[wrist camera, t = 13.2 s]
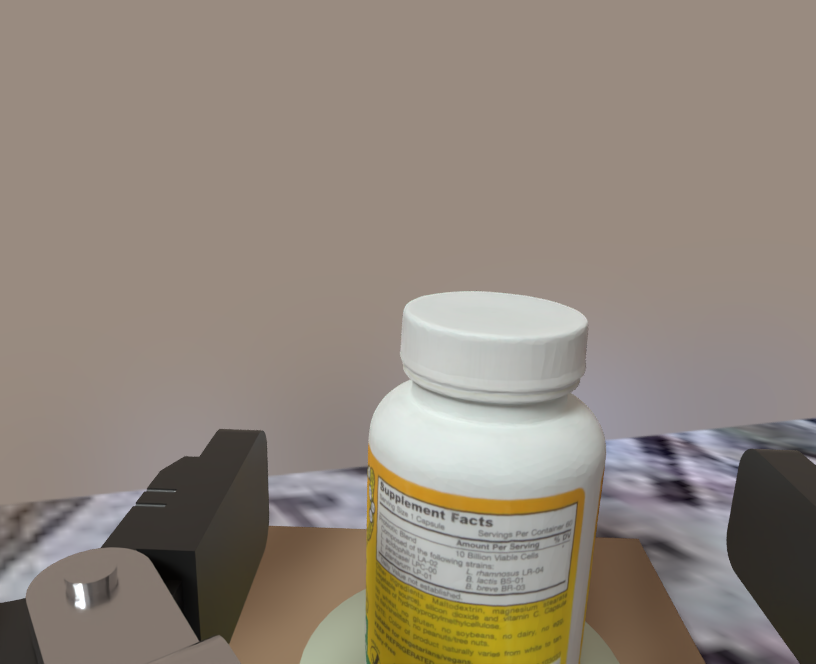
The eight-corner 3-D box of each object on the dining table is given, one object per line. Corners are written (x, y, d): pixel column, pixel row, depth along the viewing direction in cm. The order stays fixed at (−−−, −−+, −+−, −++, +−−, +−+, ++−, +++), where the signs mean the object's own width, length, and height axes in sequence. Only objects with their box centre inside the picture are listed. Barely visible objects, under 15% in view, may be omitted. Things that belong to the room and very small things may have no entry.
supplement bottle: (506, 818, 14) (548, 368, 11) (317, 686, 17) (316, 310, 14) (610, 665, 18) (659, 310, 15) (443, 582, 21) (460, 275, 18)
